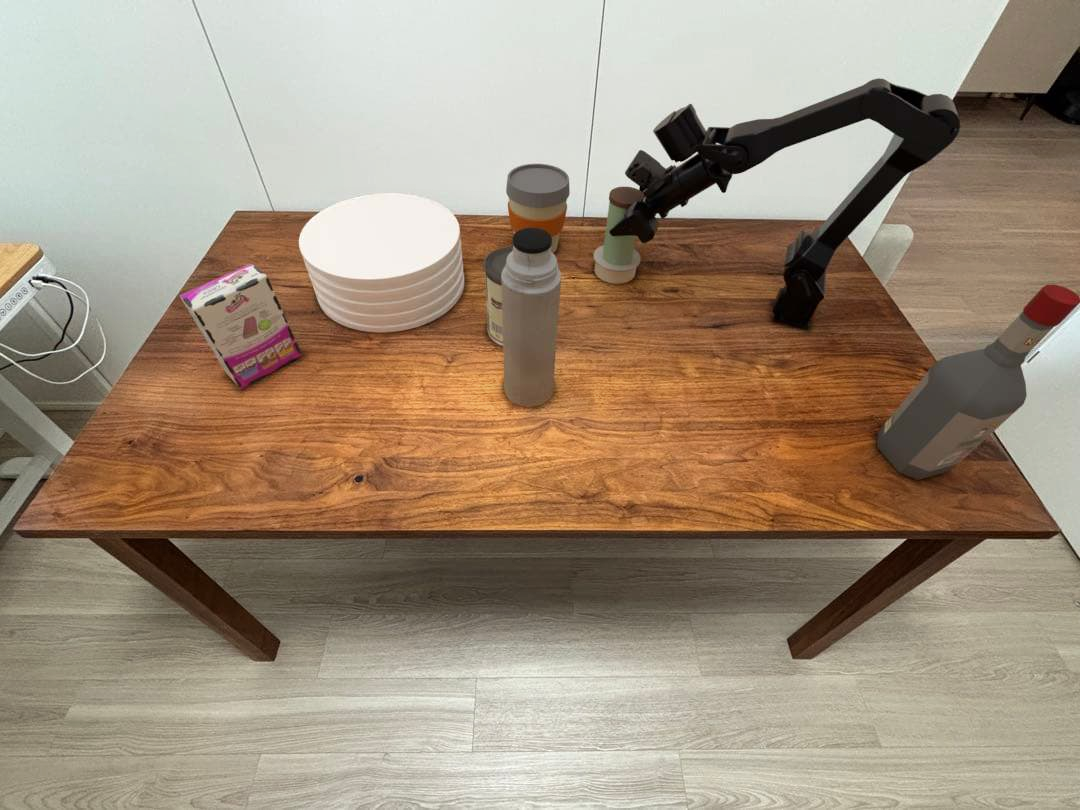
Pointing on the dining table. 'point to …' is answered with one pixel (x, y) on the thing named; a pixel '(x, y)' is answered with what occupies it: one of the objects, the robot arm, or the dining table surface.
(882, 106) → the robot arm
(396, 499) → the dining table surface
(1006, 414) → the liquor
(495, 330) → the coffee can
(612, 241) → the cylinder
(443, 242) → the plate stack
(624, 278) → the coffee pod
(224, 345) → the candy bar box
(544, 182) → the reusable coffee cup
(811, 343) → the dining table surface
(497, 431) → the dining table surface
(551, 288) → the thermos bottle
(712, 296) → the dining table surface
